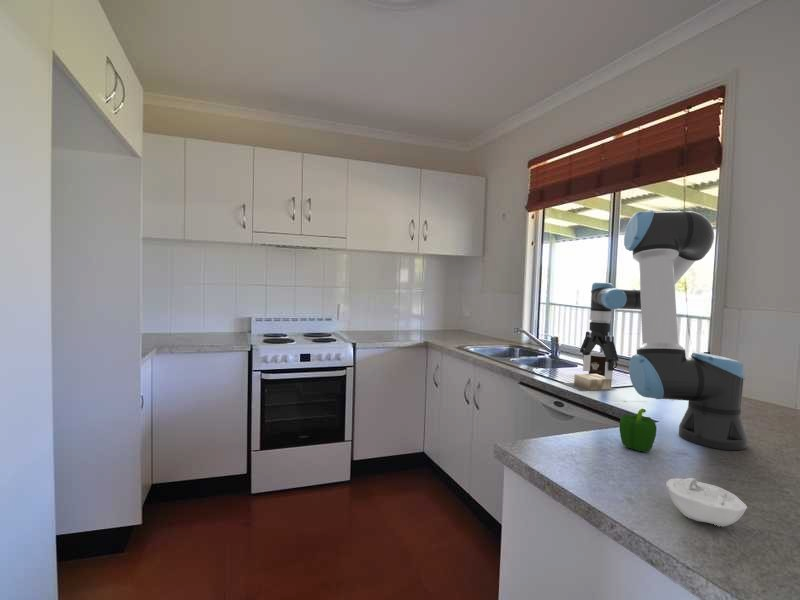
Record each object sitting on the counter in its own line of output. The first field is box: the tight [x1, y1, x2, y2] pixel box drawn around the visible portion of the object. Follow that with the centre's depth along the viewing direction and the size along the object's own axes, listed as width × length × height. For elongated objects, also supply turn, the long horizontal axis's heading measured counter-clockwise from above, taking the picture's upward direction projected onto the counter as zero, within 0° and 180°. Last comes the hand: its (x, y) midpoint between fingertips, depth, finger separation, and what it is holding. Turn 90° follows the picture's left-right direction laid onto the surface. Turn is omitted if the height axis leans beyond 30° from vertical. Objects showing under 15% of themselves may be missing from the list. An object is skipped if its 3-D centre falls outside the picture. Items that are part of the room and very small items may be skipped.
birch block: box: [573, 373, 613, 390], centre depth 172 cm, size 4×9×10 cm
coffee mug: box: [588, 352, 618, 377], centre depth 191 cm, size 12×9×10 cm
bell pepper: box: [619, 408, 657, 453], centre depth 110 cm, size 8×8×10 cm
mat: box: [562, 382, 616, 392], centre depth 172 cm, size 16×12×1 cm
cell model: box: [665, 477, 748, 528], centre depth 78 cm, size 10×12×7 cm
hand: (596, 374), depth 173 cm, fingers open, 13 cm apart
